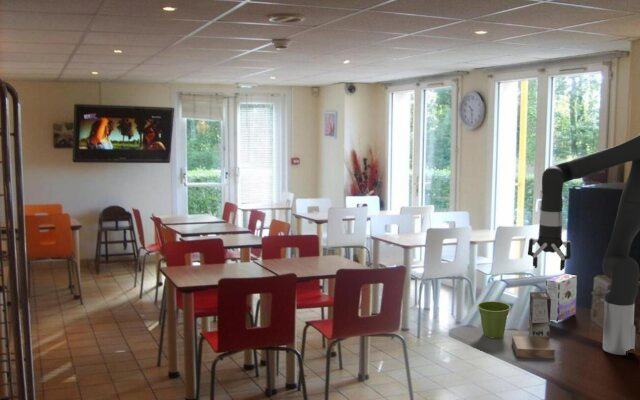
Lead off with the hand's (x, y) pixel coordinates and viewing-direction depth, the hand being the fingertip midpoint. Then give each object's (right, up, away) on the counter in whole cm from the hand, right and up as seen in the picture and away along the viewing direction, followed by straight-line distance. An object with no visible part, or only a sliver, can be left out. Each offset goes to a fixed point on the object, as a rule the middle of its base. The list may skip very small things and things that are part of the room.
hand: (548, 268), depth 234 cm
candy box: (+14, -22, +27) cm, 38 cm away
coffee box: (-1, -26, +6) cm, 27 cm away
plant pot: (-17, -26, +10) cm, 32 cm away
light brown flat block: (-8, -28, -6) cm, 29 cm away
